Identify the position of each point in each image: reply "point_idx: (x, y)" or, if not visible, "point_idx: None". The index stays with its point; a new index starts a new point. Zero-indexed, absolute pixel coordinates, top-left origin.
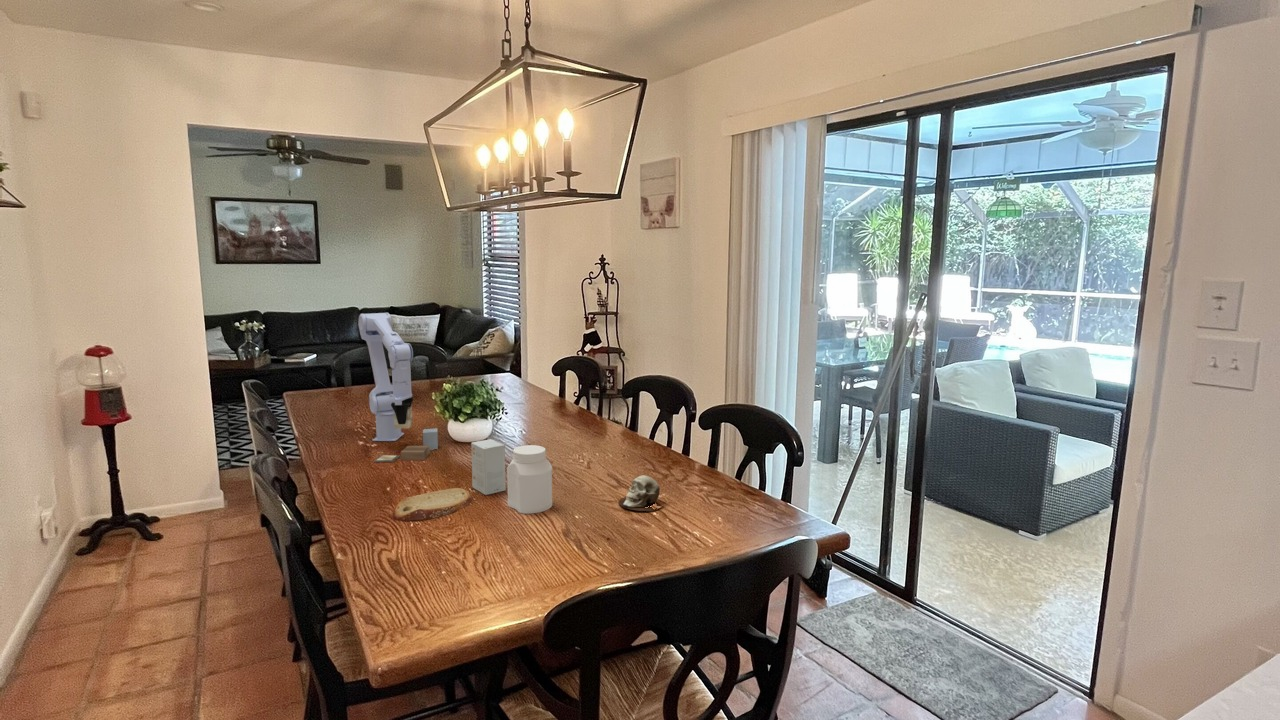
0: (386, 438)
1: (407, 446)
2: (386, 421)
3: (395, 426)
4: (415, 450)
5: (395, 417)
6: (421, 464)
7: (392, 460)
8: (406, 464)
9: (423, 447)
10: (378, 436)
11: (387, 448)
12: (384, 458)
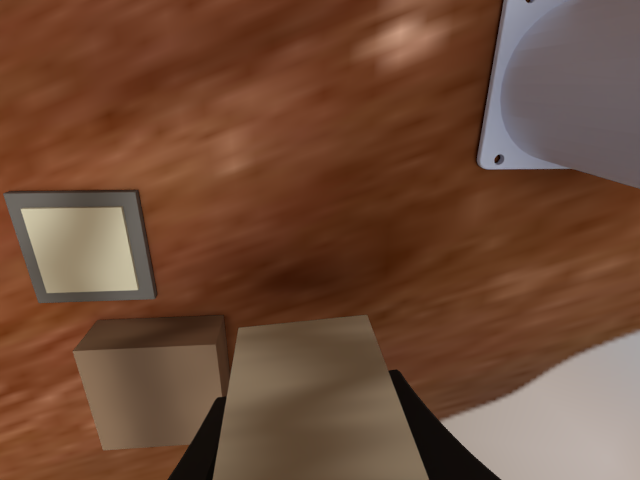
0: (504, 102)
1: (198, 348)
2: (605, 119)
3: (236, 346)
4: (125, 410)
5: (225, 424)
6: (56, 423)
7: (52, 293)
8: (35, 366)
9: (191, 426)
10: (537, 30)
11: (321, 168)
12: (62, 244)
